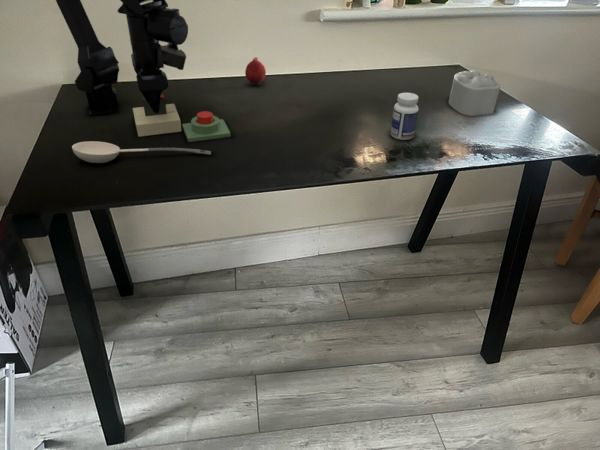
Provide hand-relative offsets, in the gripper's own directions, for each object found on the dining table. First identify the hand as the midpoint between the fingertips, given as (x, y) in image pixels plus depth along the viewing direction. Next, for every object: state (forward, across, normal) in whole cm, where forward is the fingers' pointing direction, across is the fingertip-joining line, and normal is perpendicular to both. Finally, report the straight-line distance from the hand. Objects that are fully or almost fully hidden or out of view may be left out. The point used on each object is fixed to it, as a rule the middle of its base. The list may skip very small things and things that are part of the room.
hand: (154, 104), depth 116 cm
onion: (+5, +19, -30) cm, 36 cm away
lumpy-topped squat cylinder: (+5, -11, -82) cm, 83 cm away
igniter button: (+3, -7, -11) cm, 13 cm away
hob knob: (+2, 0, 0) cm, 2 cm away
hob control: (+5, 0, 0) cm, 5 cm away
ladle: (+5, -16, +4) cm, 17 cm away
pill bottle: (+5, -22, -55) cm, 60 cm away
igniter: (+5, -7, -11) cm, 14 cm away
